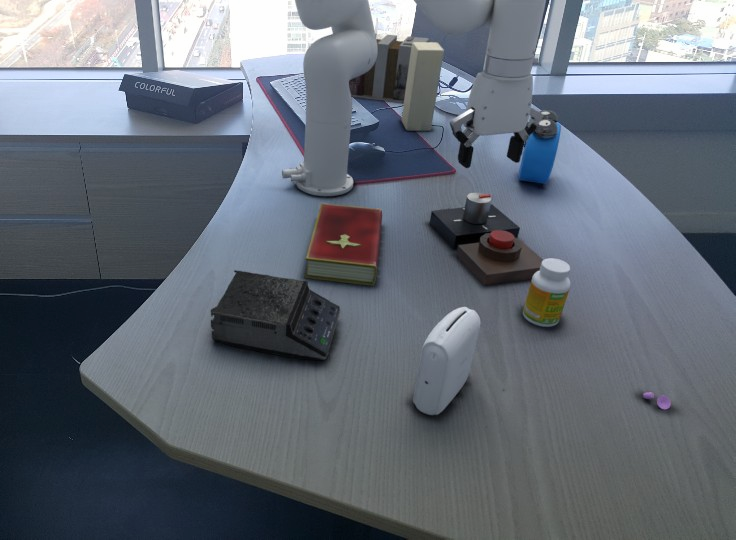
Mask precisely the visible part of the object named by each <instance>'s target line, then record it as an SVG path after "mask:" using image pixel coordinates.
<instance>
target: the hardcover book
mask: <svg viewBox="0 0 736 540" xmlns="http://www.w3.org/2000/svg"><path fill="white" fill-rule="evenodd" d="M382 225H383V210H382V208H376V207H365V206H355V205H344V204H333V203H326V202H325V203H324V202H323V203H322V202H321V203H320V206H319V209H318V213H317V216H316V220H315V224H314V227H313V230H312V234H311V238H310V241H309V245H308V248H307V252H306V256H305V261H307V267H306V270H305V274H304V278H305V279H311V280H312V279H313V280H320V281H328V282H338V283H345V284H353V285H354V284H355V285H362V286H363V285H364V286H372V287H374V285H375V284H376V281H377V276H378V267H379V255H380V245H381V236H382V235H381V234H382Z"/></svg>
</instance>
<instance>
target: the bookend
mask: <svg viewBox="0 0 736 540" xmlns="http://www.w3.org/2000/svg"><path fill="white" fill-rule="evenodd" d="M377 34H378V33H375V35H376V36H377ZM376 40H377V49H378V51H377V58H376V62H375V64H374V65H373V67H372V68H371V69H370V70H369V71H368V72H366V73H364V74H362V75H360V76H358V77H356V78H353V79H351V80H349V89H350V93H351V96H352V98H359V99H367V100H374V101H375V100H376V101H384V102H391V103H399V104H400V103H401V104H404V97H405V90H406V83H407V76H408V69H409V61H410V54H411V47H412V43H413V42H429V41H430V38H429V37H419V36H418V37H417V36H413V35H410V36H407V37H406V38H405V39H404V40H398V35H397V34H395V35H394V34H386V35H385V36H384V37H383V38H382V39H381V38H376Z"/></svg>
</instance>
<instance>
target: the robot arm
mask: <svg viewBox="0 0 736 540" xmlns="http://www.w3.org/2000/svg"><path fill="white" fill-rule="evenodd" d="M413 1H414V3H415V4H416V5H417V7H418V8H419V9H420V10H421V11H422V12H423V14H424V15H425V16H426V17H427V19H429V21H430V22H431V23H432V24H433V25H434V26H435V27H436V28H438V29H439V30H440V31H442V32H443V33H446V34H448V35H452V36H453V35H454V36H455V35H456V36H457V35H462V34H466V33H468V32H471V31H472V30H475V29H479V28H482V27H486V26H489V31H488V32H489V33H488V40H487V44H486V49H485V56H484V61H483V67H482V71H481V72H478V73H477V74H476V76H475V78H474V81H473V83H472V86H471V89H470V92H469V96H468V99H467V104H466V108H465V111H464V112H462V113H461V114H459V115H457V116H456V117H454V118H452V119H450V120H449V126H450V129H451V131H452V135H453V136H454V137H455V139H456V140H457V142H459V148H458V154H457V161H458V164H459V165H461V166H463V168H464V169H470V168H471V165H472V161H473V155H474V146H472V144H474V143H475V142H476V141H477V139H479V137H481V136H495V135H504V134H513V135H511V136H510V138H509V144H508V147H507V151H506V152H507V153H506V157H507V159H509V160H511V161H512V162H514V163H515V164H517V163H519V164H520V163H521V159H522V155H523V151H524V144H525V141H527V140H528V139H529V136H530V135H531V134H532V133H533V132H534V131H535V130H536V128H537V125H538V124H539V123H540V121H541V120H542V118H543V116H544V115H543V114H542V113H540V111H538V110H536V109H534V108H532V101H533V91H534V90H533V89H534V76H533V74H532V73H531V72H532V69H533V66H537V65H538V64H539V57H538V56H535V53H536V49H537V44H538V40H539V35H540V32H541V31H540V30H541V26H542V21H543V16H544V13H545V8H546V4H547V3H546V2H547V0H413ZM294 2H295V6H296V11H297V14H298V17H299V20H300V22H301V24H302V25H303V26H304V27H305V28H307V29H309V30H312V31H319V30H325V29H328V28H331V32H332V33H331V34H328V35H325V36H323V37H320V38H318V39H316V40H315V41H314V42H312V43H311V44H310V45H309V47H308V48H307V50H306V51H305V53H304V57H303V61H302V69H303V77H304V85H305V126H304V127H305V128H304V151H303V152H304V153H303V161H302V162H301V161H299V166H296V167H295V168H286V169H284V168H283V169H282V170H281V178H282V179H290V182H295V185H296V187H297V188H298V189H299V190H300V191H302V192H303V193H306V194H309V195H313V196H319V197H335V196H336V197H337V196H341V195H344V194H347V193H349V192H350V191H351V190H352V189H353V188H354V179H353V177H352V175H350V174H348V165H349V154H350V143H351V142H350V141H351V131H352V120H353V119H352V117H353V97H351V93H350V89H349V80H351V79H353V78H356V77H358V76H360V75H362V74H364V73H366V72H368V71H369V70H370V69H371V68H372V67H373V65H374V64H375V62H376V58H377V51H378V49H377V40H376V39H377V35H375V34H376V31H375V26H374V21H373V17H372V12H371V7H370V6H371V5H370V4H369V3H370V2H369V0H294ZM529 118H530V119H529ZM462 126H463V127H464V130H462Z"/></svg>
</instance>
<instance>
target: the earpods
mask: <svg viewBox="0 0 736 540" xmlns="http://www.w3.org/2000/svg"><path fill="white" fill-rule="evenodd" d="M642 397H643V398H644V399H645V400H652V399H654V398H655V394H654V392H651V391H649V392H647V391H646V392H643V393H642ZM656 404H657V407H659V408H660V409H662V410H668V409H669V408H670V407H671V404H672V402H671V399H670V398H669V397H668V396H667V395H665V394H662V395H659V396H658V397H657V399H656Z"/></svg>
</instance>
